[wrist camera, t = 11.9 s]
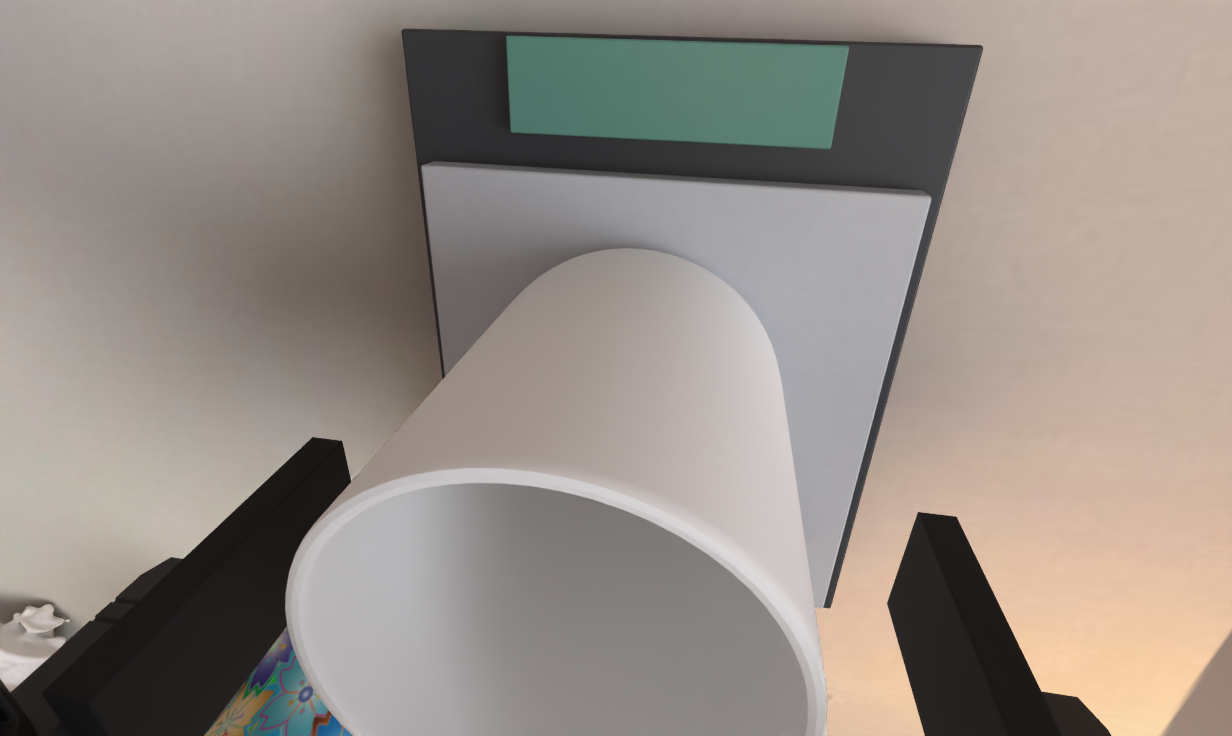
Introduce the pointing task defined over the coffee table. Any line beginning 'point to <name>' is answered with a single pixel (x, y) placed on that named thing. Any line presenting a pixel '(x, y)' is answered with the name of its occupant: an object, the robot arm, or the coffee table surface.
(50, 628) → the seashell
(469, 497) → the cup
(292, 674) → the mug
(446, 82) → the scale
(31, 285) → the coffee table surface
